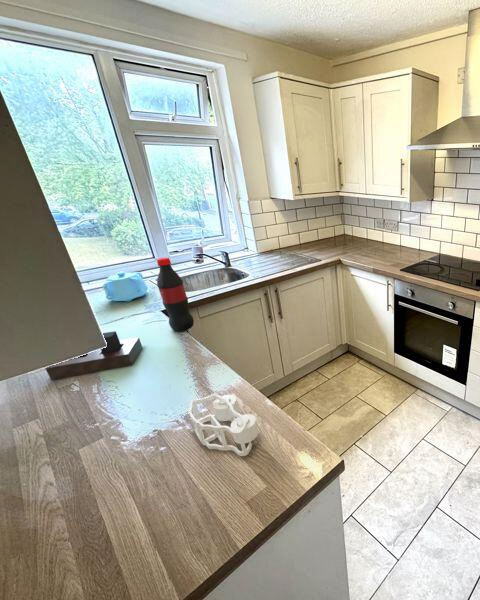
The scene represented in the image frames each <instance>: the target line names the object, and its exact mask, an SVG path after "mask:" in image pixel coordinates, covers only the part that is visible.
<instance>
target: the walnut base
mask: <svg viewBox="0 0 480 600" xmlns="http://www.w3.org/2000/svg"><path fill="white" fill-rule="evenodd" d="M119 341H120V344H121V346H122V348H121V349H120V351H117V352H111V353H105V354H103V353H102V350H101V349H100V350H97V351H94V352H91V353H89V354H86V355H83V356H80V357H78V358H74V359H70V360H68V361H65V362H61V363H59V364H56V365H52V366H49V367H47V366H46V367H47V368H46V367H45V371H46V373H47V375H48V376H49V379H50V380H51V381H54V380H59V379H65V378H72V377H76V376H81V375H88V374H93V373H99V372H105V371H109V370H114V369H115V370H116V369H120V368H126V367H131V366H133V365H134V363H135V362H136V361H137V359H138V357H139V355H140V353H141V351H142V350H143V345H142V342H141V339H140V337H139V336H138V337H137V336H136V337H132V338H125V339H124V338H123V339H119Z"/></svg>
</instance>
